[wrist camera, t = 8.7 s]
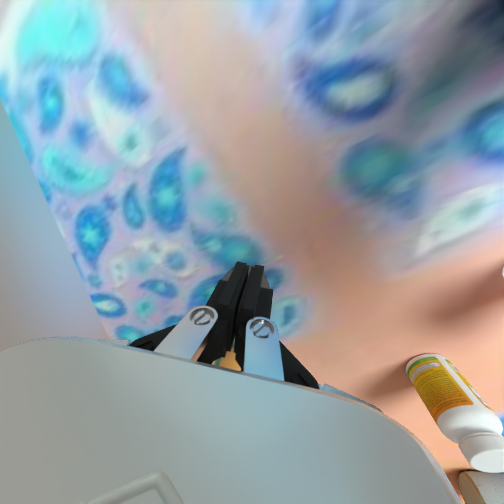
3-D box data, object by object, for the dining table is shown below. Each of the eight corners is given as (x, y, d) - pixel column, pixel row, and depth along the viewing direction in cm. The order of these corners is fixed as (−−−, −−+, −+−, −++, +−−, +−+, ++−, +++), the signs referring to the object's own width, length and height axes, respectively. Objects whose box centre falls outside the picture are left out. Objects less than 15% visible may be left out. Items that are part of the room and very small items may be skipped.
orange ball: (211, 397, 26) (221, 368, 32) (253, 406, 26) (256, 375, 31) (217, 358, 26) (226, 335, 31) (260, 367, 25) (262, 342, 31)
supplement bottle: (397, 375, 29) (449, 469, 20) (414, 348, 27) (481, 440, 18) (437, 383, 28) (508, 482, 20) (458, 356, 26) (548, 455, 17)
